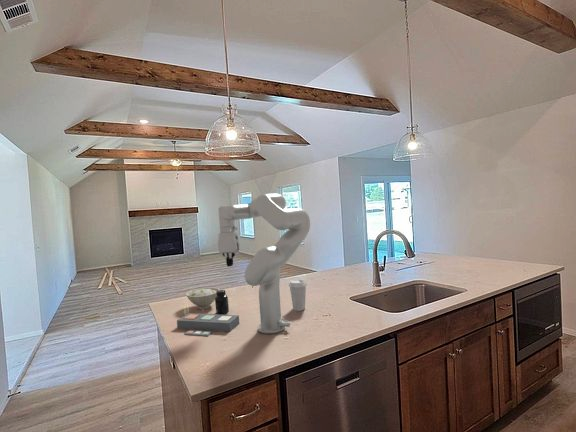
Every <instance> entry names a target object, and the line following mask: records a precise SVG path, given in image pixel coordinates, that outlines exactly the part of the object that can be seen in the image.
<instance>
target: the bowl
mask: <svg viewBox="0 0 576 432" xmlns="http://www.w3.org/2000/svg"><path fill="white" fill-rule="evenodd" d="M219 290H221V289H220V288H218V287H208V286H207V287H202V288H201V287H200V288H196V289H192V290H191V289H190V290H189V291H187V292H186V294H185V296H186V297H187V299H188V300H189V302H191V303H192V304H193V305H194V306H197V309H200V310H205V308H206V309H209V308H211V304H213V303H214V302H215V297H216V296H217V295H216V291H219Z"/></svg>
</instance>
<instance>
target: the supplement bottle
mask: <svg viewBox="0 0 576 432" xmlns="http://www.w3.org/2000/svg"><path fill="white" fill-rule="evenodd" d="M216 295H217V296H216V297H215V300H214V302H215V303H214V304H215V312H216V313H215V314H219V315H228V313H229V311H230V307H229V297H228V295H227V294H226V290H225V289H220V290H219V291H216Z"/></svg>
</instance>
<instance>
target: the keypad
mask: <svg viewBox="0 0 576 432" xmlns="http://www.w3.org/2000/svg"><path fill="white" fill-rule="evenodd" d="M190 314H193V315H199V316H198V317H197V318H195V319H194V320H192V319H184V318H185V317H187V316H188V315H190ZM205 315H214V316H215V317H214V318H213V319H212V320H200V319H201V318H203V317H204V316H205ZM222 316H232V318H231V319H230V320H229V321H217V320H218V319H219V318H220V317H222ZM176 325H177V326H176V327H177V328H178V329H179V330H180V329H181V330H193V329H195V330H196V331H212V332H225V333H226V332H228V333H229V332H232V331H233V330H234V329H235V328H236V327H237V326H239V325H240V315H238V314H237V315H235V314H224V315H219V314H217V313H214V314H213V313H193V312H188V313H186V314H185V315H183V316H182V317H180V318H179V319H177V320H176Z"/></svg>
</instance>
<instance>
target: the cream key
mask: <svg viewBox="0 0 576 432" xmlns="http://www.w3.org/2000/svg"><path fill="white" fill-rule="evenodd" d="M231 318H232V316H222V317H220V318H219V319H218V320H217V321H229V320H230V319H231Z"/></svg>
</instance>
